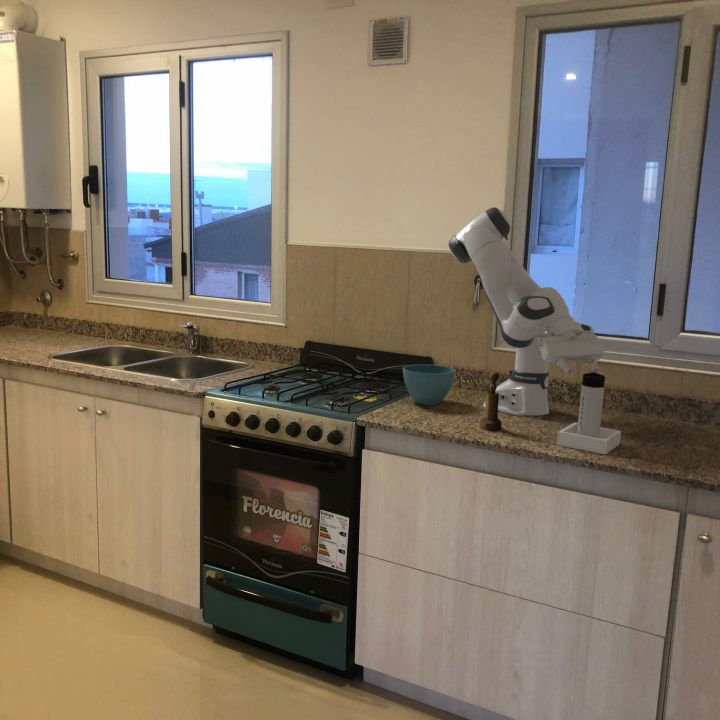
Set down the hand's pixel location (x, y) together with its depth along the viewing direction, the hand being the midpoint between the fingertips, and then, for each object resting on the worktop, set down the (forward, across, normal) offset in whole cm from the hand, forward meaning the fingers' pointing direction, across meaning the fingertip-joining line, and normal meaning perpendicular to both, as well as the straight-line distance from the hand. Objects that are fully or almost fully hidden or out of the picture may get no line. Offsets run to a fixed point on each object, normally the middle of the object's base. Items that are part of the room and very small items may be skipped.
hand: (582, 371), depth 216 cm
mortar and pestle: (+1, -18, +28) cm, 34 cm away
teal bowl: (-24, -23, +53) cm, 63 cm away
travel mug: (+17, +1, +12) cm, 21 cm away
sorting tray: (+18, +1, +12) cm, 22 cm away
